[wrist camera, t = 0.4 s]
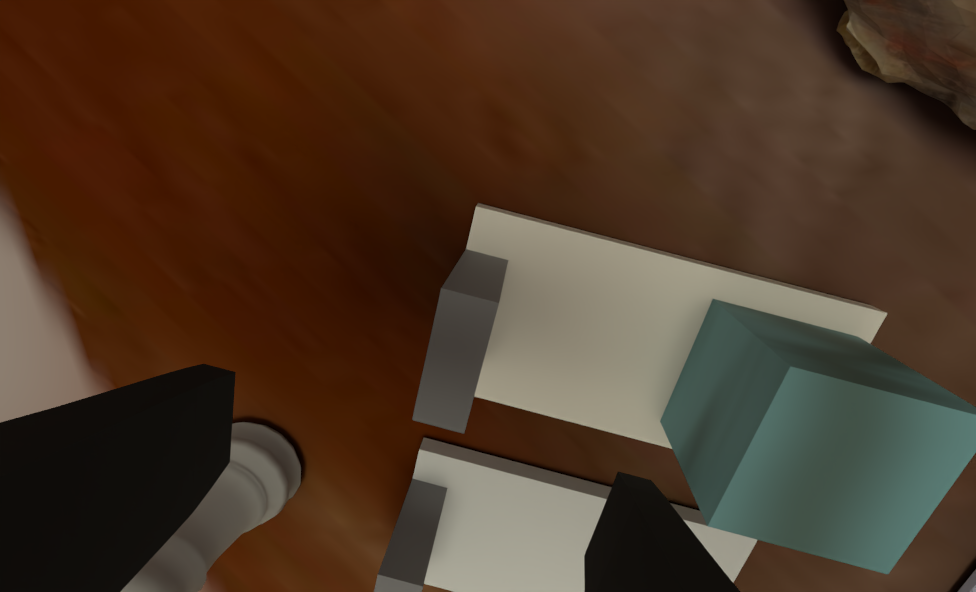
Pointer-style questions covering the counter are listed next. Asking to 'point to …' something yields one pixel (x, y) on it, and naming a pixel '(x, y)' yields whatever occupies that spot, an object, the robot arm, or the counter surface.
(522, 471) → the cream and grey bookend
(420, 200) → the counter surface
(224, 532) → the rook chess piece
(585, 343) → the cream strip
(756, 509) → the teal block
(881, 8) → the seashell
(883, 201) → the counter surface
